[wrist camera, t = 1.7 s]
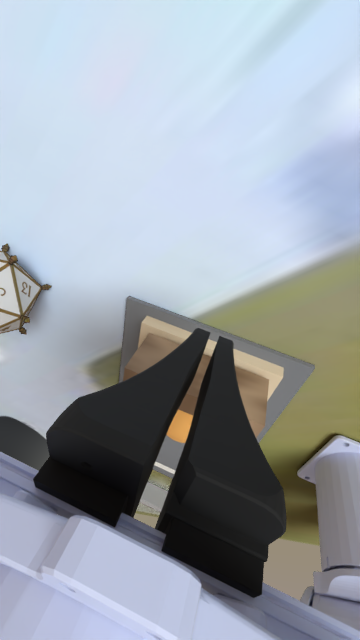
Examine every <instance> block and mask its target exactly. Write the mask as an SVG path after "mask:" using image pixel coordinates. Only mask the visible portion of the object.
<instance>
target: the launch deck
mask: <svg viewBox="0 0 360 640" xmlns="http://www.w3.org/2000/svg"><path fill="white" fill-rule="evenodd" d="M197 328H200V329H203V330H205V331H208V332H211V333H210V336H209V339H208V342H207V344H206V347H205V350H204V353H203V354H205V355H208V356H210V357H211V356H212V354H213V351H214V349H215V346H216V344H217V341H218V338H219V336H221V337H224V338H227V339H229V340H232V341H233V343H234V348H233V350H234V364H235V366H236V367H238V368H241V369H244V370H246V371H249V372H251V373H254V374H256V375H259V376H262V377H264V378H267V379H269V387H268V398H267V410H266V421H265V427H264V428H263V429H262V431H261V432H260V434H259V435H258V436H257V438H256V439H257V441H258V443H259V442H260V440H261V439H262V438H263V437H264V435H265V434H266V433H267V431H268V430H269V429H270V427H271V426H272V425H273V423H274V422H275V421H276V419H277V418H278V417H279V415H280V414H281V413H282V411H283V410H284V409H285V407H286V406H287V405H288V403H289V402H290V401H291V399H292V398H293V397H294V396H295V394H296V393H297V392H298V390H299V389H300V388H301V386H302V385H303V384H304V382H305V381H306V380H307V378H308V377H309V376H310V374H311V373H312V372H313V370H314V369H315V366H314V365H313V364H310V363H307V362H305V361H302V360H299V359H296V358H294V357H291V356H288V355H286V354H283V353H280V352H278V351H275V350H272V349H270V348H267V347H264V346H262V345H259V344H256V343H254V342H251V341H248V340H246V339H243V338H240V337H238V336H235V335H232V334H230V333H227V332H224V331H222V330H219V329H216V328H213V327H211V326H208V325H205V324H203V323H200V322H197V321H195V320H192V319H189V318H187V317H184V316H181V315H179V314H176V313H173V312H171V311H168V310H165V309H163V308H160V307H157V306H155V305H152V304H149V303H147V302H144V301H141V300H138V299H136V298H133V297H130V296H129V297H128V298H127V304H126V314H125V324H124V334H123V344H122V354H121V365H120V375H119V383H120V382H123V377H124V368H125V366H126V365H127V363H128V362H129V361H130V359H131V358H132V356H133V355H134V354H135V352H136V351H137V349H138V348H139V346H140V345H141V344H142V342H143V341H144V339H145V338H146V337H147V335H148V334H149V333H151V334H154V335H156V336H159V337H161V338H164V339H167V340H169V341H172V342H174V343H177V344H179V345H181V344H182V343H183V342H184V341H185V340H186V339H187V338H188V337H189V336H190V335H191V334H192V333H193V331H194V330H195V329H197ZM184 445H185V443H180V442H177V441H175V440H173V439H171V438H170V437H168V436H167V435H166V437H165V439H164V442H163V444H162V447H161V449H160V452H159V454H158V457H157V459H156V462H155V464H154V467H153V470H155V471H157V472H160V473H162V474H164V475H166V476H168V477H170V478H173V476H174V474H175V471H176V468H177V465H178V462H179V459H180V457H181V454H182V451H183V448H184ZM167 493H168V491H166V490H164V489H162V488H160V487H158V486H156V485H154V484H152V483H149V482H147V484H146V487H145V489H144V492H143V494H142V497H141V499H140V503H142V504H144V505H146V506H148V507H150V508H153V509H155V510H157V511H159V512H161V510H162V507H163V504H164V502H165V499H166V496H167Z"/></svg>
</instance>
